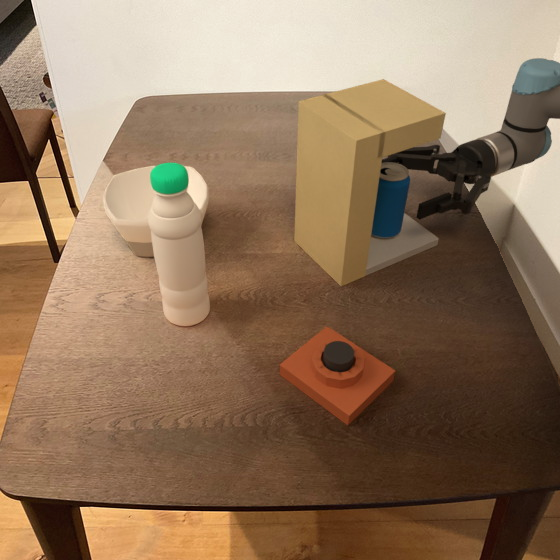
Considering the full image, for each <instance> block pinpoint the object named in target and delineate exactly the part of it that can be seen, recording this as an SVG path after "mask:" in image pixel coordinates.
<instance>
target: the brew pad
mask: <svg viewBox="0 0 560 560" xmlns="http://www.w3.org/2000/svg"><path fill="white" fill-rule="evenodd" d="M333 341H342V342H346V343H348V344H349V345H350V346H351V347H352V348H353V350H354V360H353V365H352V367H351V368H350V369H349V370H347V371H345V372H334V371H331V370H329V369H328V368H327V367H326V366H325V365H324V362H323V355H324V348H325V347H326V345H327V344H329V343H330V342H333ZM395 374H396V370H395V369H394V368H392V367H391V366H389V365H387V364H386V363H384V362H383V361H381V360H380V359H378V358H377V357H375V356H374V355H372V354H371V353H369V352H368V351H366V350H365V349H363V348H362V347H360V346H358V345H356V344H355V343H354V342H352V341H351V340H349V339H347V337H344V336H343V335H342V334H340V333H338V332H337V331H335V330H334V329H332V328H330V327H329V326H325V327H324V328H323V329H321V330H320V331H319V332H318V333H317V334H316V335H314V336H313V337H312V338H310V339H309V340H308V341H306V342H305V343H304V344H303V345H302V346H301V347H299V348H298V349H297V350H295V352H293V353H291V354H290V355H289V356H288V357H287V358H286V359H285V360H283V361H282V362H281V363H279V376H281V377H282V378H283V379H285V380H286V381H287V382H289V384H292V385H293V386H294V387H295V388H297V389H298V390H300V391H301V392H302V393H303V394H304V395H306V396H307V397H309V398H310V399H311V400H312V401H314V402H315V403H316V404H318V405H320V406H321V408H323V409H325V410H326V411H327V412H329V413H330V414H331V415H333V416H334V417H335V418H336V419H337V420H339V421H341V422H342V423H343V424H345V426H349V425H350V424H352V423H353V422H354V421H355V419H356V418H357V417H358V416H360V415H361V414H362V413H363V412H364V411H365V410H366V408H368V406H370V405H371V404H372V403H373V402H374V400H376V399H377V398H378V397H379V396H380V395H381V394H382V393H383V392H384V391H385V390H386V389H387V388H388V387H389V386H390V385H391V384H392V383H393V382H394V380H395Z"/></svg>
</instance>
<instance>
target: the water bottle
mask: <svg viewBox="0 0 560 560" xmlns="http://www.w3.org/2000/svg"><path fill="white" fill-rule="evenodd" d="M155 166H156V167H154V168H153V169H152V171H151V173H150V181H151V186H152V188H153V191H154V192H155V193H156V196H155V198H154V200H153V203H152V206H151V209H150V211H149V215H148V224H149V227H150V229H151V236H152V245H153V252H154V257H153V258H154V262H155V268H156V271H157V275H158V280H159V281H158V285H159V293H160V296H161V300H162V301H161V302H162V310H163V315H164V317H165V319H166V320H167V321H168V322H169V323H171V324H173V325H175V326H178V327H191V326H195V325H197V324H199V323H202V322H203V321H204V320H205V319H206V318H207V317H208V315H209V314H210V311H211V301H210V295H209V292H208V291H209V286H208V285H209V284H208V281H209V280H208V277H207V273H206V269H207V268H206V266H207V265H206V252H205V242H204V241H205V240H204V234H203V229H202V225H201V220H202V219H201V212H200V210H199V208H198V206H197V205H196V204H195V202H194V201H193V199H192V197H191V196H190V195H189V194H188V193H187V192H186V190H187V189H188V183H189V178H188V172H187V170H186V168H185V167H184V166H185V165H183V164H181V163H178V162H163V163H160V164H157V165H155Z"/></svg>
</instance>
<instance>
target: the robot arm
mask: <svg viewBox="0 0 560 560" xmlns="http://www.w3.org/2000/svg"><path fill="white" fill-rule="evenodd" d="M550 119H553V120H555V119H556V120H560V61H559V62H558V61H556V60H554V59H547V58H543V57H542V58H541V57H536V58H529V59H527V60H525V61H523V62H522V64H521V65H520V66H519V68H518V70H517V73H516V76H515V79H514V82H513V83H512V86H511V92H510V96H509V99H508V103H507V108H506V110H505V115H504V119H503V121H502V124H501V128H500V130H497V131H495V132H493V133H490V134H486V135H484V136H481V137H478V138H476V139H472V140H470V141H465V142H464V143H461V144H459V145H457V146H456V148H455V149H453V150H452V151H451V152H442V151H441V150H440V149H441V145H440V144H433V145H429V146H416V147H413V148H410V149H407V150H404V151H401V152H398V153H395V154H391V155H388V156H387V157H384V158H382V163H385V162H393V163H398V164H401V165H403V166H405V167H406V168H407V169H408V171H409V170H411V171H422V172H428V174H430V175H438V176H439V177H442V178H444V179H445V180H446V182H449V183H450V182H452V183H454V185H453V191H452V193H451V192H449V191H447V192H445V193H443V194H440V195H438V196H435V197H433V198H430V199H427V200H425V201H422V202H420V203H418V206H417V213H416V216H415V217H416V219H418V220H419V221H420V220H423V219H426V218H428V217H430V216H433V215H436V214H437V213H439V214H443V213H446V212H449V211H451V210H454V211H456V210H460V212H461V214H463V215H468V214H469V213H470V212H471V210H472V208H473V207H474V206H475V204H476V202H477V201H478V199H479V198H480V196H481V195H482V194H483V193H485V192H487V191H488V190H489V186H490V183H491V180H492V178H493V177H494V176H497V175H500V174H502V173H505V172H508V171H511V170H513V169H516V168H518V167H521V166H525V165H529V164H532V163H533V162H535V161H536V160H538V159H540V158H542V157H544V156H545V155H546V154H547V153H548V152H549V150H550V149H551V147H552V143H553V140H552V132H551V129H550V127H548V123H549V121H550ZM436 161H437V163H436V168H435V162H436ZM464 184H467V185H472V187H471V188H470V190H469V191H468V193H467V194H466V195H465V197H462V194H463V186H464Z"/></svg>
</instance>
